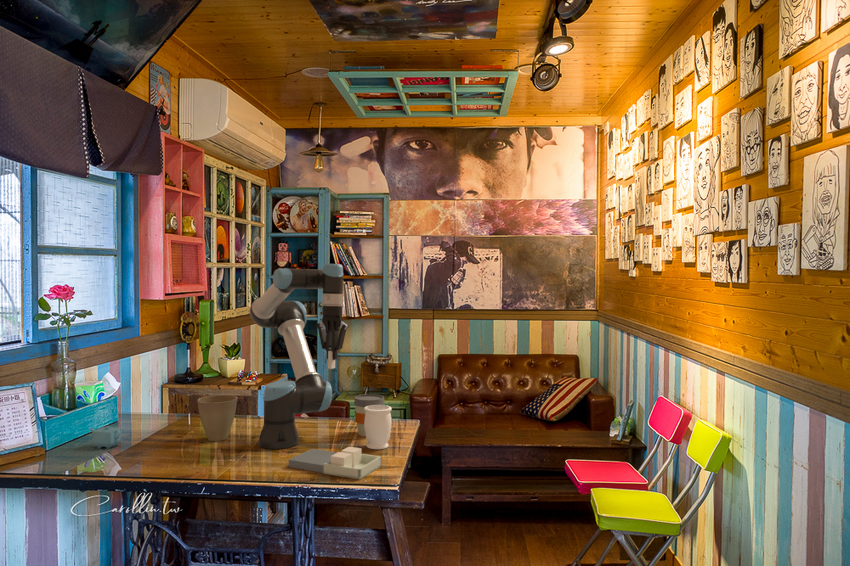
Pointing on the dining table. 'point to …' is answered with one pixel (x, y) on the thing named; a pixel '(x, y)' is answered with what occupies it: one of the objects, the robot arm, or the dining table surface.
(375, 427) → the jar
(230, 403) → the plant pot
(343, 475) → the tray
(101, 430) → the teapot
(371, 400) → the reusable coffee cup
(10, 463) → the dining table surface
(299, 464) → the board
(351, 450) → the block
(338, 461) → the block
